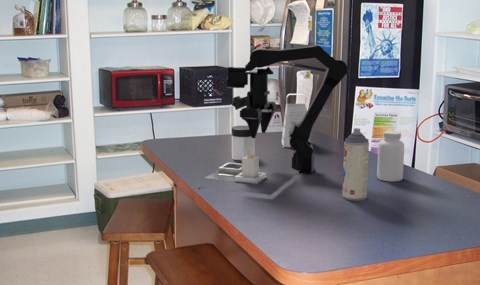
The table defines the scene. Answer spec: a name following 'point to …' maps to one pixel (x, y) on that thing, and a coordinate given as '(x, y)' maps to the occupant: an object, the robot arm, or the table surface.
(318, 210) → the table surface
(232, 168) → the panel
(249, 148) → the jar
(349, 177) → the aerosol can
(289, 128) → the grater
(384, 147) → the pill bottle
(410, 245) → the table surface
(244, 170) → the plug
